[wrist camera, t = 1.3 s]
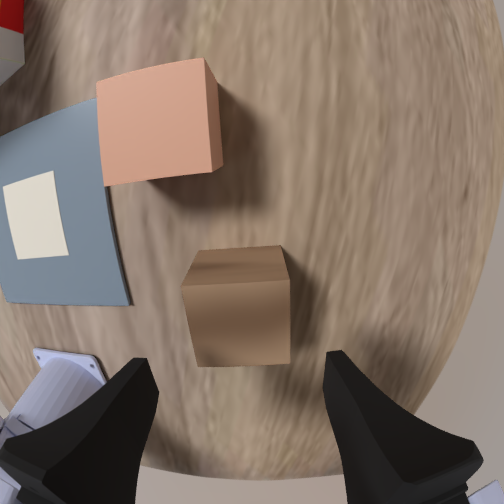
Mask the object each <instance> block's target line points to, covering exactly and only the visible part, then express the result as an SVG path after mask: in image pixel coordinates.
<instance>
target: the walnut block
mask: <svg viewBox="0 0 504 504" xmlns="http://www.w3.org/2000/svg"><path fill="white" fill-rule="evenodd" d="M181 289H182V294H183V300H184V305H185V310H186V315H187V320H188V325H189V329H190V334H191V339H192V343H193V348H194V352H195V357H196V361H197V365H198V367H234V366H259V365H275V364H289V363H290V278H289V275H288V271H287V267H286V264H285V260H284V256H283V253H282V249H281V245H279V246H263V247H247V248H231V249H216V250H201V251H198V253H197V255H196V257H195V259H194V261H193V263H192V265H191V267H190V269H189V271H188V273H187V275H186V277H185V279H184V281H183V283H182V285H181Z"/></svg>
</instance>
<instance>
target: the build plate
mask: <svg viewBox="0 0 504 504" xmlns="http://www.w3.org/2000/svg"><path fill="white" fill-rule="evenodd" d="M0 284H1V287H2V290H3V293H4V296H5V299H6V301H7V302H12V303H31V304H55V305H100V306H129V305H130V303H131V302H130V298H129V294H128V290H127V286H126V282H125V278H124V274H123V270H122V266H121V261H120V257H119V252H118V247H117V242H116V237H115V232H114V227H113V221H112V215H111V209H110V203H109V196H108V189H107V186H106V187H104V181H103V173H102V165H101V156H100V145H99V132H98V116H97V98H94V99H90V100H87V101H84V102H81V103H78V104H75V105H73V106H70V107H67V108H64V109H62V110H59V111H56V112H54V113H51V114H49V115H46V116H44V117H41V118H39V119H37V120H34V121H32V122H30V123H28V124H25V125H23V126H21V127H19V128H17V129H15V130H13V131H11V132H9V133H7V134H5V135H3V136H1V137H0Z"/></svg>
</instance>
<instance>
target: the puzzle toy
mask: <svg viewBox="0 0 504 504" xmlns="http://www.w3.org/2000/svg"><path fill="white" fill-rule="evenodd" d="M23 14H24V0H0V86H1V85H2V84H3V83H4V82H5V81H6V80H7V79H8V78H9V77H11V76H12V75H13V74H14V73H15V72H16V71H17V70H18V69H20V68H21V67H22V66H23V65H24V64H25V56H24V34H23Z"/></svg>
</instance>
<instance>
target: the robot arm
mask: <svg viewBox="0 0 504 504" xmlns="http://www.w3.org/2000/svg"><path fill="white" fill-rule="evenodd" d="M33 353H34V355H35V357H36V359H37V361H38V363H39V365H40V367H41V370H40V372H39V373H38V374H37V376H36V377H35V378H34V380H33V381H32V382H31V384H30V385H29V386H28V388H27V389H26V391H25V392H24V393H23V395H22V396H21V398H20V399H19V400H18V402H17V403H16V405H15V406H14V408H13V409H12V410H11V412H10V413H9V415H8V416H7V418H5V419H3V418H2V417H1V416H0V504H135V496H136V487H137V479H138V473H139V467H140V461H141V457H142V453H143V450H144V447H145V444H146V441H147V438H148V435H149V432H150V428H151V425H152V422H153V419H154V416H155V413H156V408H157V403H158V396H159V390H158V388H157V385H156V382H155V380H154V377H153V374H152V372H151V369H150V366H149V363H148V360H147V358H133V359H132V360H130V361H129V362H128V363H127V364H126V365H125V366H124V367H123V368H122V369H121V370H120V371H119V372H117V373H116V374H115V375H114V376H113V377H112V378H111V379H110V380H109V381H108V382H107V381H106V379H105V377H104V375H103V373H102V371H101V369H100V367H99V364H98V362H97V360H96V358H95V357H94V356H91V355H84V354H76V353H68V352H61V351H54V350H47V349H41V348H34V350H33ZM323 392H324V398H325V404H326V409H327V412H328V416H329V419H330V422H331V425H332V429H333V432H334V435H335V438H336V442H337V445H338V448H339V452H340V456H341V460H342V466H343V472H344V478H345V486H346V493H347V502H348V504H504V493H503V490H502V488H501V486H500V484H499V482H498V480H494V481H493V482H491V483H489V484H488V485H486V486H484V487H483V488H481V489H479V490H477V491H476V492H474V493H473V494H471V495H470V496H468V497H467V496H466V493H465V492H466V491H467V490H468V486H467V484H466V481H467V480H468V479H469V478H470V477H471V476H472V475H473V474H474V473H475V472H476V471H477V470H478V469H479V468H480V467H481V465H482V463H483V457H482V456H481V454H480V451H479V450H478V448H477V446H476V445H475V443H474V442H473V441H472V440H468V439H465V438H462V437H459V436H456V435H453V434H450V433H448V432H445V431H443V430H440V429H438V428H436V427H434V426H432V425H430V424H428V423H426V422H425V421H423V420H421V419H419V418H417V417H416V416H414V415H412V414H411V413H409V412H408V411H406V410H405V409H403V408H402V407H400V406H399V405H398V404H396V403H395V402H394V401H393V400H391V399H390V398H389V397H388V396H387V395H385V394H384V393H383V392H382V391H381V390H380V389H379V388H377V387H376V386H375V385H374V384H373V383H372V382H371V381H370V380H369V379H368V378H367V377H366V376H365V375H364V374H363V373H362V372H361V371H360V370H359V368H358V367H357V366H356V365H355V364H354V363H353V362H352V361H351V360H350V359H349V357H348V356H347V355H346V354H345V353H344V352H343V351H342V350H338V351H330V352H327V353H326V362H325V372H324V380H323Z"/></svg>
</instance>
